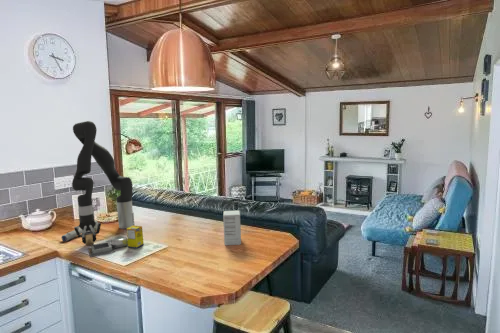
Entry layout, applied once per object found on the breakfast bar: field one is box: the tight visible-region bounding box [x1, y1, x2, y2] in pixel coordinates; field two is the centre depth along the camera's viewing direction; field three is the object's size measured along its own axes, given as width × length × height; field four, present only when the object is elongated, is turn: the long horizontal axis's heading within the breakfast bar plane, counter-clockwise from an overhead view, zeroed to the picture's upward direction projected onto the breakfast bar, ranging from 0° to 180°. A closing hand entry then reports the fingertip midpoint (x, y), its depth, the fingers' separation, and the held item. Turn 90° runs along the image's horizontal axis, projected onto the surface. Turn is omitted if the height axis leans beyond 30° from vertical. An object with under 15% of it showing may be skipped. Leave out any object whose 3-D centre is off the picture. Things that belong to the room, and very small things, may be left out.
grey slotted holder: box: [87, 237, 128, 258], centre depth 180 cm, size 19×12×4 cm, turn 120°
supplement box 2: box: [222, 210, 242, 246], centre depth 184 cm, size 10×9×17 cm
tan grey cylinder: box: [84, 231, 95, 246], centre depth 188 cm, size 4×4×7 cm
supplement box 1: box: [126, 224, 145, 249], centre depth 183 cm, size 6×6×11 cm
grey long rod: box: [61, 219, 99, 242], centre depth 206 cm, size 5×7×25 cm
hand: (89, 242), depth 189 cm, fingers closed on tan grey cylinder, 4 cm apart
